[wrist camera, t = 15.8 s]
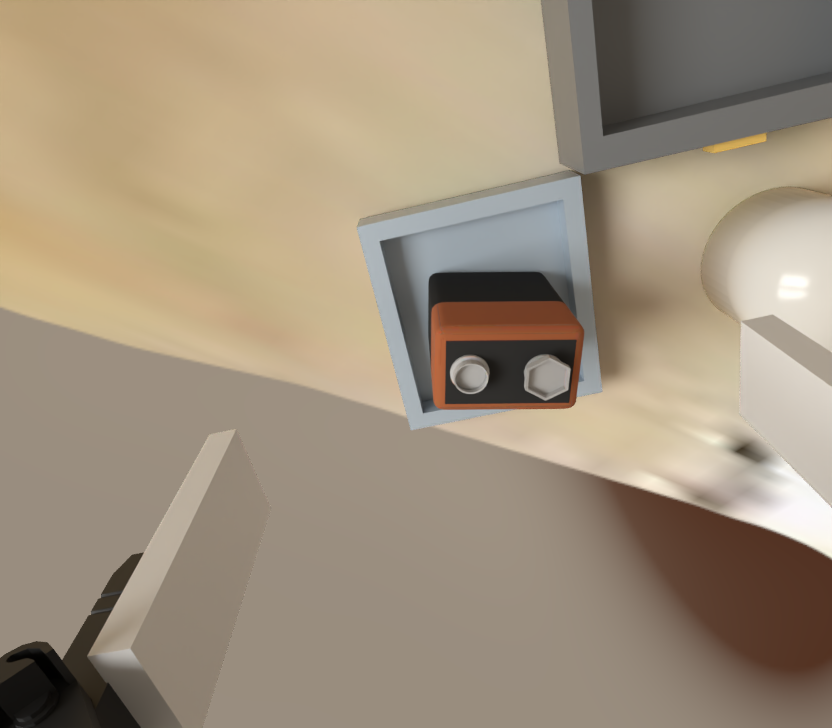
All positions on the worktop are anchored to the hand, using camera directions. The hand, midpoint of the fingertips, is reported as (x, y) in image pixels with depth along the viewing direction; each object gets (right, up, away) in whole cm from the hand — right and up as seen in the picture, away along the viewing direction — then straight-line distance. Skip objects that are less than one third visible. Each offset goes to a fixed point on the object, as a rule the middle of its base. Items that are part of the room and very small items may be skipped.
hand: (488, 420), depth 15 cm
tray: (+2, +5, +20) cm, 21 cm away
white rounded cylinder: (+19, +8, +19) cm, 28 cm away
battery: (+2, +5, +20) cm, 20 cm away
